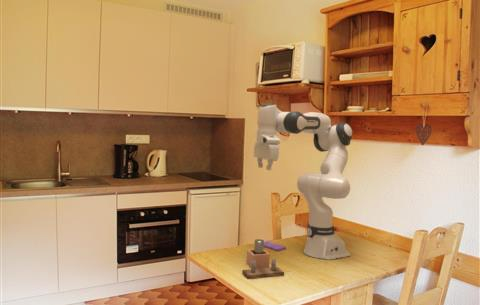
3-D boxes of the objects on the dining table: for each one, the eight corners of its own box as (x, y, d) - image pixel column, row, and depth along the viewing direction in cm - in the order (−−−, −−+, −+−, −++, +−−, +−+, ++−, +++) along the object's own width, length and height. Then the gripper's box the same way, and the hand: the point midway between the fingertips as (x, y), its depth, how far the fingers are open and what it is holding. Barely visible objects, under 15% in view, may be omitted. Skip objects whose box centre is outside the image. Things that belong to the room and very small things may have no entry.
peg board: (277, 270, 170) (278, 256, 170) (283, 275, 164) (284, 261, 164) (242, 273, 164) (243, 259, 164) (247, 279, 159) (248, 264, 158)
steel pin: (260, 261, 177) (261, 239, 177) (264, 264, 174) (265, 241, 173) (252, 261, 176) (253, 239, 175) (255, 264, 172) (256, 242, 172)
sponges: (267, 244, 210) (267, 240, 209) (286, 250, 201) (286, 246, 201) (258, 246, 205) (258, 242, 204) (277, 252, 196) (277, 249, 196)
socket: (261, 261, 180) (262, 248, 179) (269, 267, 173) (269, 254, 172) (246, 263, 177) (246, 249, 177) (252, 269, 170) (253, 255, 170)
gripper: (251, 137, 193) (249, 166, 194) (269, 139, 173) (267, 171, 174) (263, 138, 195) (261, 166, 196) (282, 140, 176) (280, 171, 177)
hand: (264, 168), depth 185 cm, fingers open, 8 cm apart
